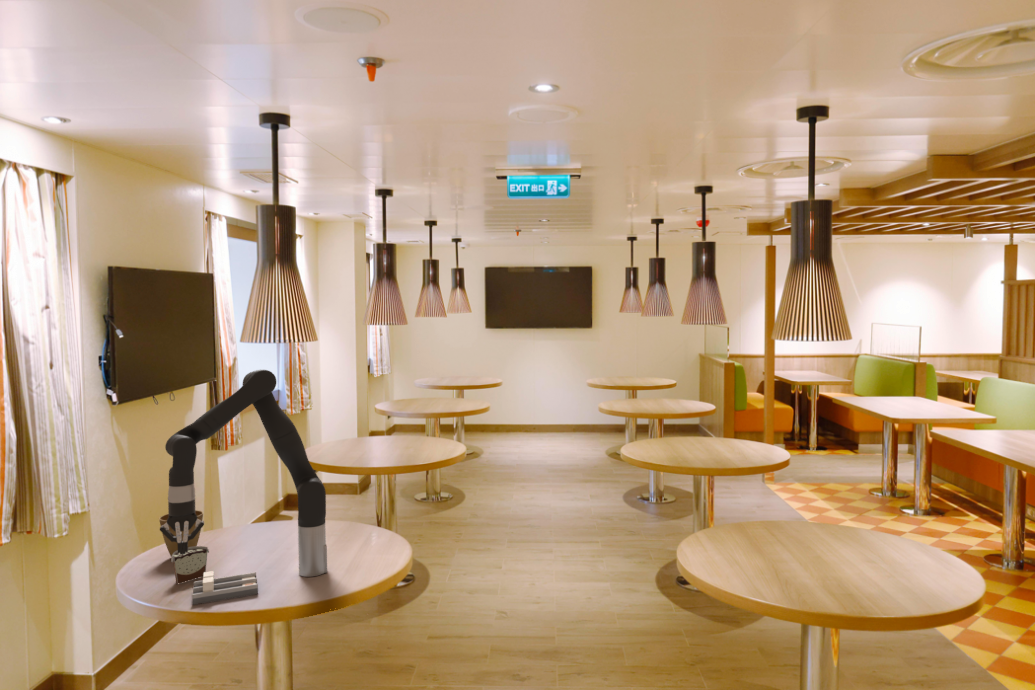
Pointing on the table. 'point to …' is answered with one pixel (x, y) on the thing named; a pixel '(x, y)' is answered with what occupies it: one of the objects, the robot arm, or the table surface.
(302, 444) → the robot arm
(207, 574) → the far tab
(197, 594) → the switch panel
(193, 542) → the plant pot
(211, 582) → the near tab
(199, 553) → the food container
